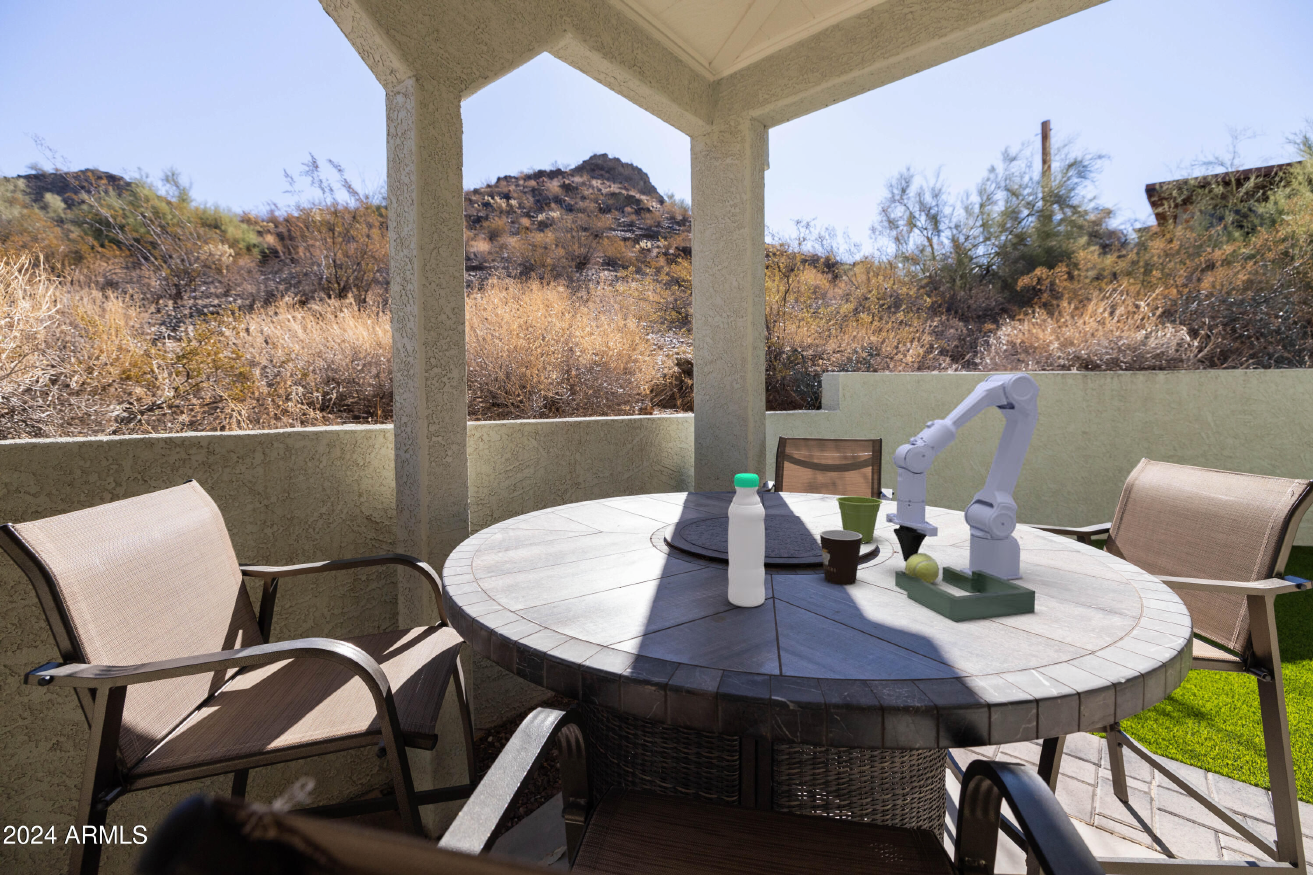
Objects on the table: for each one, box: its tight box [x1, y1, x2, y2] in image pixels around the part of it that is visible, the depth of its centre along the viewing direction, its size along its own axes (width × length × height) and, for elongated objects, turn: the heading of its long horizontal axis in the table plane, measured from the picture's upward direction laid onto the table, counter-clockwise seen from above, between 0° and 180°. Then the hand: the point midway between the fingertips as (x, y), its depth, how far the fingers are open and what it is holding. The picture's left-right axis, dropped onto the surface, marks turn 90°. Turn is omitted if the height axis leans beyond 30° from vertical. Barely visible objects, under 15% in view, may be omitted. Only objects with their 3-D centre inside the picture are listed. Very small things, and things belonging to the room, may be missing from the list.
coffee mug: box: [819, 529, 862, 586], centre depth 127 cm, size 12×9×10 cm
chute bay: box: [894, 566, 1036, 623], centre depth 114 cm, size 17×20×4 cm
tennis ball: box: [904, 552, 940, 584], centre depth 123 cm, size 6×7×7 cm
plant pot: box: [835, 495, 883, 544], centre depth 158 cm, size 12×12×11 cm
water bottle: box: [727, 472, 766, 608], centre depth 113 cm, size 7×7×25 cm
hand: (909, 561), depth 127 cm, fingers closed
